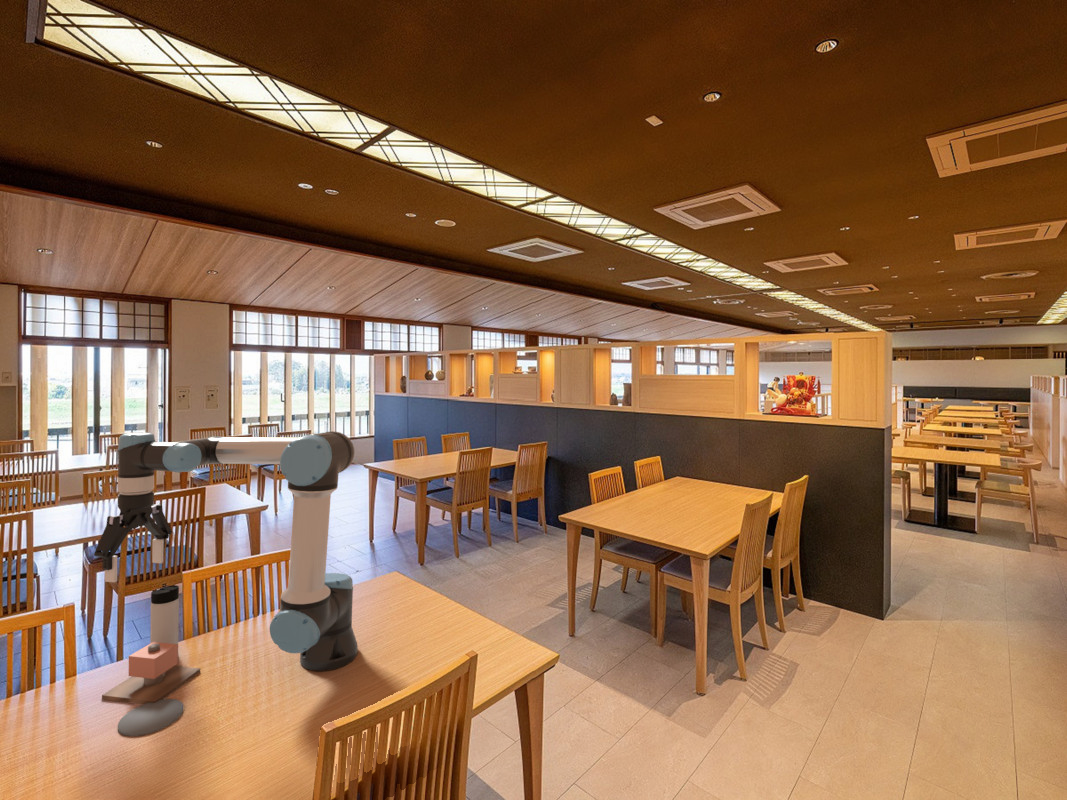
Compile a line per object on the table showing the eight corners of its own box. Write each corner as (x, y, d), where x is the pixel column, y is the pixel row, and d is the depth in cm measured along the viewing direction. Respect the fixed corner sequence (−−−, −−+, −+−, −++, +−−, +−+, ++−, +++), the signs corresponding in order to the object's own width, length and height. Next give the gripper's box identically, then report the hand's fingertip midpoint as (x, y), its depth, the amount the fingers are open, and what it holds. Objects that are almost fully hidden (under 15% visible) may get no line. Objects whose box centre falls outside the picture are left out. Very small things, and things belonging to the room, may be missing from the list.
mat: (196, 704, 120) (196, 701, 120) (152, 739, 108) (153, 736, 108) (150, 698, 122) (150, 696, 122) (102, 732, 110) (103, 730, 110)
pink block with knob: (177, 663, 130) (177, 640, 130) (154, 678, 123) (154, 654, 123) (153, 660, 131) (153, 638, 131) (128, 676, 124) (128, 652, 124)
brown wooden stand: (200, 672, 133) (200, 646, 133) (154, 705, 119) (155, 676, 119) (152, 667, 135) (152, 641, 135) (101, 699, 121) (102, 670, 121)
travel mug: (164, 666, 135) (165, 593, 134) (144, 663, 136) (144, 590, 136) (184, 654, 141) (185, 584, 140) (165, 651, 142) (166, 581, 142)
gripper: (163, 482, 145) (163, 554, 146) (74, 501, 120) (74, 589, 121) (187, 483, 144) (186, 556, 145) (102, 503, 119) (102, 591, 120)
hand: (135, 571), depth 133 cm, fingers open, 13 cm apart
